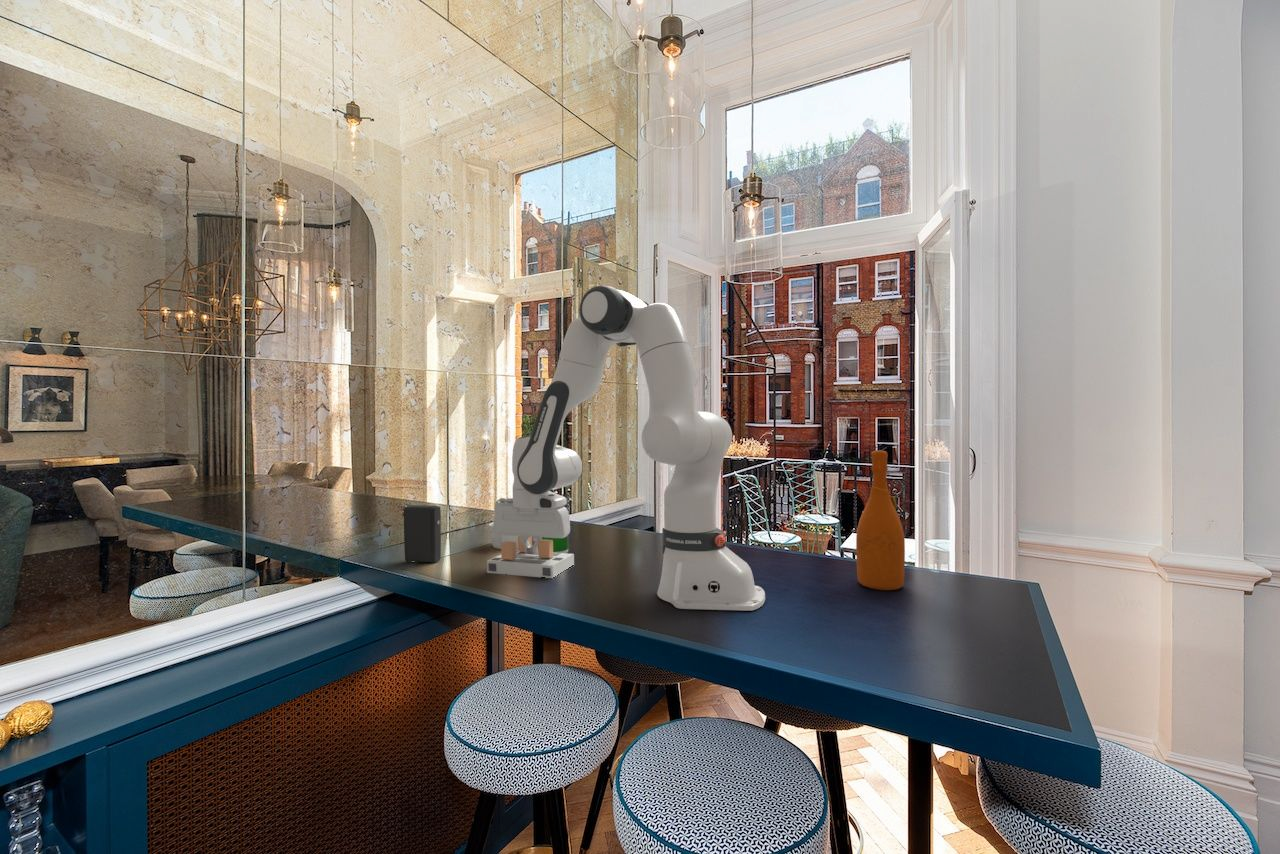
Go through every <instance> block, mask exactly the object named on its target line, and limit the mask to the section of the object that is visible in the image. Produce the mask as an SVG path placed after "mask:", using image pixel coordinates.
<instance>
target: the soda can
mask: <svg viewBox="0 0 1280 854" xmlns="http://www.w3.org/2000/svg"><path fill="white" fill-rule="evenodd" d="M542 540H553V553H568V552H569V535H568V536H566V537H564V538H546V537H542Z"/></svg>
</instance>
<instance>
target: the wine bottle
mask: <svg viewBox="0 0 1280 854" xmlns="http://www.w3.org/2000/svg"><path fill="white" fill-rule="evenodd" d="M888 456H889V455H888V452H887V451H885V450H882V449H879V450H878V449H877V450H873V451H872V452H871V456H870V457H871V463H872V464H871V471H872V472H873V473H872V486H871V488H870V489H871V490H870V492H869V497H868V500H867V502H866V504H865V507H864V509H863V510H862V512H861V516H860V518H859V521H858V525H857V530H856V535H855V536H856V541H855V542H856V544H855V547H856V549H855V552H856V553H855V554H856V575H857V576H856V577H857V581H858V582H859V584H861V586H864V587H867V588H869V589H872V590H878V591H894V590H895V591H896V590H899V589H901V588H903V586H904V584H905V563H906V555H905V553H906V550H905V549H906V547H905V546H906V545H905V543H906V542H905V532H904V529H903V525H902V522H901V521H902V520H901V519H900V516H899V514H898V512H897V510H896V509H898V506H897V503H896V499H895V496H893V495H891V494H890V490H889V488H888V487H889V486H888V483H887V472H888V469H889V467H888Z"/></svg>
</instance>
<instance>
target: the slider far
mask: <svg viewBox="0 0 1280 854" xmlns="http://www.w3.org/2000/svg"><path fill="white" fill-rule="evenodd" d="M528 541H529V543H530V545H531V546H533V537H530V538H529V539H528ZM517 550H518V552H525V547H524V545H523V544H522V542H521V536H518V549H517Z"/></svg>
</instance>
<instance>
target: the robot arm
mask: <svg viewBox="0 0 1280 854" xmlns="http://www.w3.org/2000/svg"><path fill="white" fill-rule="evenodd" d="M578 313H579V317H576V318H575V319H573V320H572V321H571V322H570V323H569V326H568V328H567V330H566V333H565V336H564V338H563V341H562V344H561V349H560V352H559V355H558V362H557V366H556V369H555V372H554V375H553V376H552V377H553V378H552V380H551V382H550V384H549V386H548V387H547V389H546V390H545V392H544V393H543V397H542V400H541V402H540V405H539V408H538V410H537V411H538V412H537V414H536V418H535V419H534V424H533V426H532V429H531V434H529V435H524V436H520V437H518V438H517V439H515V441H514V444H513V449H512V454H511V455H512V457H511V458H512V459H511V461H512V462H511V467H512V469H511V471H512V474H513V483H512V498H511V497H509V498H505V497H501V498H499V499H497V500H496V501H495V502H494V516H493V522H494V523H493V531H494V532H495V534H496V535H511V536H521V542H522V544H523V545H524V547H525V554H534V555H535V554H537V553H538V551H539V548H538V541H540V540H542V537H546V538H564V537H566V536H568V537H569V534H570V533H571V520H570V512H569V510H568V508H567V507H565V506H566V505H567V503H568V501H567V500H568V499H567V497H565V496H563V495H560V494H558V493H555V492H552V490H557V489H562V488H564V487H569V486H572V485H574V484H576V483H577V482H578V481H579V480H580V478H581V477H582V475H583V469H584V467H583V464H584V463H583V461H582V457H581V456H580V455H579V453H578V452H577V451H576V450H575V449H571V448H567V447H564V446H561V445H559V444H558V442H559V438H560V435H561V431H562V429H563V425H564V422H565V419H566V418H567V416H568V415H569V413H570V412H571V411H572V410H573V409H575V408H576V407H577V406H578V405H581V404H582V403H584V402H586V401H588V400H589V399H591V398H592V397H593V396H595V394H596V393H597V391H598V389H599V388H600V385H601V383H602V380H603V375H604V371H605V365H606V360H607V356H608V352H609V350H610V349H611V348H612V347H613V346H614V345H617V346H618V347H627V346H635V345H636V347H637V351H638V355H639V358H640V363H641V365H642V370H643V374H644V378H645V382H646V385H647V389H648V397H649V411H648V418H647V421H646V422H645V424H644V426H643V428H642V431H641V445H642V448H643V450H644V452H645V454H646V456H648V457H649V458H650V459H651V460H653V461H655V462H658V463H660V464H661V463H662V464H666V465H671V466H674V470H673V474H672V476H671V479H670V481H669V483H668V484H667V486H666V488H665V490H664V493H663V523H664V524H663V525H664V527H662V531H661V550H662V555H663V557H662V558H663V561H662V566H661V567H662V569H661V570H662V571H661V575H660V576H661V577H660V582H659V585H658V589H657V592H656V595H657V597H658V598H659V599H661V600H663V601H665V602H667V603H670V604H671V605H673V606H674V607H675V608H676V609H681V610H711V611H714V610H715V611H716V610H717V611H746V612H747V611H751V612H752V611H755V610H758V609H759V608H760V607H763V605H764V604H765V602H766V592H765V590H764V589H763V588H762V587H761V586H760V585H755V581H754V580H755V579H754V575H753V571H752V569H751V566H749V564H748V562H746V561H745V560H743V559H742V558H741V557H739V555H737V554H736V553H734V552H733V551H732V550H730V549H729V548H728V547H727V531H726V530H724V531H723V530H721V529H720V528H718V527H717V492H718V485H719V480H720V475H721V470H722V466H723V463H724V457H725V455H726V453H727V451H728V450H729V449H730V446H731V445H732V442H733V432H732V428H731V426H730V424H729V422H728V421H727V420H726V419H725V418H724V417H721V416H719V415H717V414H715V413H712V412H710V411H698V410H697V408H696V403H695V402H696V401H695V399H696V398H695V391H696V390H695V388H696V387H697V385H698V383H699V373H698V371H697V367H696V364H695V361H694V357H693V354H692V350H691V347H690V344H689V341H688V337H687V335H686V333H685V332H686V331H685V330H684V327H683V325H682V323H681V320H680V319H679V317H678V314H677V313H676V311H675V309H674V308H673V307H672V306H670V305H669V304H666V303H664V302H655V303H650V304H649V303H647V302H646V301H645V300H641V299H640V298H638V297H636V296H635V295H632V294H631V293H629V292H626V291H624V290H620V289H616V288H615V287H613V286H610V285H609V286H608V285H597V286H596V285H595V286H594V287H592V288H590V289H587V291H586V292H585V294H583V296H582V298H581V300H580V304H579V311H578ZM530 537H532V542H533V544H532V546H531V545H530V543H529V541H528V539H529V538H530Z"/></svg>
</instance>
